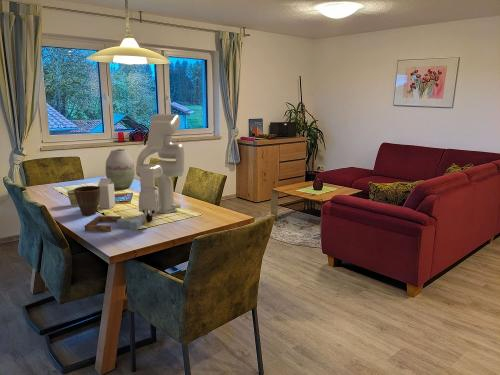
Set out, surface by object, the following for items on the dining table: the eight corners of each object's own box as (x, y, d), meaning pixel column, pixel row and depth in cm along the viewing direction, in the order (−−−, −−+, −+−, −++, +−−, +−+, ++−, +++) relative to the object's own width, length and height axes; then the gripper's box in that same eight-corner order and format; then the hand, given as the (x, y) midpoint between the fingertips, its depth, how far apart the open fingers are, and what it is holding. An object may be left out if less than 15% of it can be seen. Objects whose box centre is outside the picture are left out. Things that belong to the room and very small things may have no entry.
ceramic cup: (71, 208, 252) (69, 193, 250) (66, 205, 260) (65, 190, 257) (91, 205, 260) (90, 190, 258) (87, 202, 268) (85, 187, 265)
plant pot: (107, 213, 241) (105, 188, 238) (83, 219, 231) (80, 192, 227) (95, 209, 251) (93, 184, 248) (71, 214, 240) (69, 188, 237)
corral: (121, 221, 227) (121, 216, 227) (109, 231, 210) (109, 226, 209) (98, 220, 228) (98, 215, 227) (84, 231, 210) (84, 225, 210)
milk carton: (109, 208, 252) (107, 179, 248) (99, 208, 254) (97, 179, 249) (115, 205, 259) (113, 177, 255) (105, 205, 260) (103, 177, 256)
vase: (109, 185, 318) (106, 148, 311) (136, 184, 321) (134, 147, 315) (104, 191, 297) (101, 152, 290) (134, 190, 301) (131, 151, 294)
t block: (143, 223, 224) (142, 216, 223) (136, 230, 212) (136, 223, 212) (122, 222, 225) (122, 216, 224) (114, 229, 213) (114, 222, 212)
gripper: (163, 188, 217) (164, 220, 220) (136, 187, 217) (137, 219, 221) (159, 191, 209) (161, 224, 213) (131, 190, 210) (133, 223, 213)
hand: (149, 221), depth 217 cm, fingers closed
